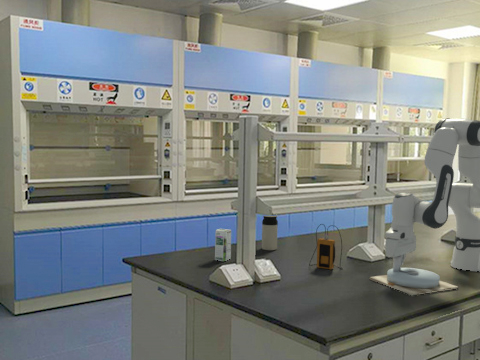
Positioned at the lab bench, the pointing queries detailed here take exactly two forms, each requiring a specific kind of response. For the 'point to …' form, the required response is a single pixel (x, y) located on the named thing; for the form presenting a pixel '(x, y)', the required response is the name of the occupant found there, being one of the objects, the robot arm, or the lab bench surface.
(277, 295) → the lab bench surface
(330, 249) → the multimeter
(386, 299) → the lab bench surface
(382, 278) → the base plate
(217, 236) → the syrup box
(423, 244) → the lab bench surface
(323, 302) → the lab bench surface
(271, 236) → the travel mug
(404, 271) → the capstan dial
